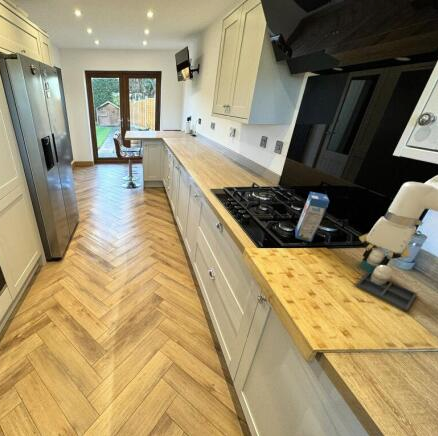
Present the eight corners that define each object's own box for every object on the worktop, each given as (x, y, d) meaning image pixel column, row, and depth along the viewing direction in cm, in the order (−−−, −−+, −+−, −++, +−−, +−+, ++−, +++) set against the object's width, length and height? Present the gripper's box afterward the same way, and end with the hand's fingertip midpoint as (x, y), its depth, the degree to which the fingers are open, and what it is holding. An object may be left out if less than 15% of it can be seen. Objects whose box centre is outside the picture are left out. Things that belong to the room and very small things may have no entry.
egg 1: (379, 266, 88) (389, 251, 85) (376, 270, 86) (386, 254, 82) (366, 260, 91) (375, 245, 88) (362, 264, 89) (371, 248, 86)
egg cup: (381, 271, 89) (386, 264, 87) (376, 277, 85) (381, 269, 84) (361, 263, 93) (366, 255, 91) (356, 268, 90) (360, 260, 88)
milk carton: (311, 242, 105) (329, 201, 96) (295, 238, 107) (311, 198, 98) (309, 233, 113) (326, 194, 104) (295, 229, 115) (310, 191, 106)
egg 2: (385, 283, 81) (396, 267, 78) (382, 288, 79) (393, 271, 76) (370, 276, 84) (380, 261, 81) (366, 280, 82) (376, 264, 79)
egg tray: (414, 297, 77) (417, 293, 76) (404, 313, 70) (407, 309, 70) (367, 275, 86) (369, 271, 85) (354, 287, 80) (356, 283, 79)
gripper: (437, 226, 75) (406, 271, 83) (372, 207, 87) (350, 248, 96) (433, 232, 71) (400, 279, 80) (365, 211, 83) (343, 253, 92)
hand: (373, 261), depth 87 cm, fingers closed on egg 1, 4 cm apart
